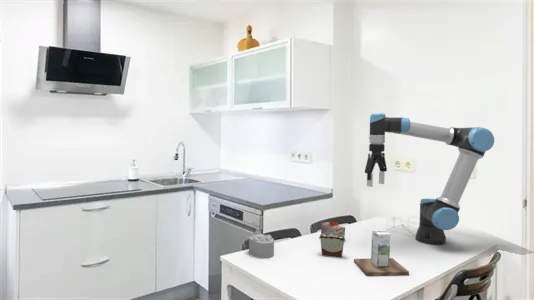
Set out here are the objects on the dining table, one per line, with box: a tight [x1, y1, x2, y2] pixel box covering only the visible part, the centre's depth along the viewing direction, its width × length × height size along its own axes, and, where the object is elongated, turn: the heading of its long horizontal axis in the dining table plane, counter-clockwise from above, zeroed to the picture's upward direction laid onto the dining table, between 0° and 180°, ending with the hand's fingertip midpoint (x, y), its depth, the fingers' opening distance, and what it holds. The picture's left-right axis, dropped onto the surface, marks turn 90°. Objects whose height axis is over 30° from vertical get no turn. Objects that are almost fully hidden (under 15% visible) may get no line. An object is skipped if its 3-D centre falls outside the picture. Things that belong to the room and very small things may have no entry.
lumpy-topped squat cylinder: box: [248, 233, 275, 259], centre depth 173 cm, size 10×13×9 cm
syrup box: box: [370, 229, 392, 267], centre depth 156 cm, size 6×6×14 cm
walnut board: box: [353, 257, 410, 277], centre depth 156 cm, size 18×16×2 cm
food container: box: [318, 233, 346, 259], centre depth 172 cm, size 12×6×10 cm, turn 71°
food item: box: [320, 221, 346, 237], centre depth 197 cm, size 14×8×10 cm, turn 36°
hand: (375, 185), depth 185 cm, fingers open, 13 cm apart
